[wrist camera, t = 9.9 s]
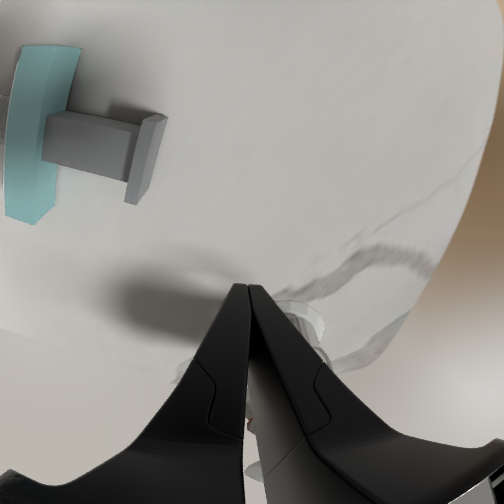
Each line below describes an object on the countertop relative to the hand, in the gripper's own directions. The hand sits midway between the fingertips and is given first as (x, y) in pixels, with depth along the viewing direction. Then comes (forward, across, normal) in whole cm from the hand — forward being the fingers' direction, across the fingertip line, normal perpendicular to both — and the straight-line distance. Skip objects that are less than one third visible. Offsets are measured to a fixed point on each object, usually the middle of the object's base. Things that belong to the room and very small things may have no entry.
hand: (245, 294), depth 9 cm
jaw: (+11, +11, -2) cm, 16 cm away
